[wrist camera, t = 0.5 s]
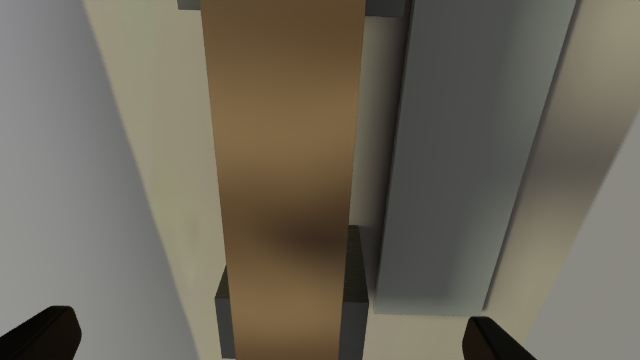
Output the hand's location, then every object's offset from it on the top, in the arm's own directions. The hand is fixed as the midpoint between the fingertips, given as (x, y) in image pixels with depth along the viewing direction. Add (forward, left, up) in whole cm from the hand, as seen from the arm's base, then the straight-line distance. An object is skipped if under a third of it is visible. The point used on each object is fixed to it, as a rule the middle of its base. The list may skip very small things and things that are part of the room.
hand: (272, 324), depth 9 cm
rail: (0, 0, -8) cm, 8 cm away
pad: (-3, -8, -13) cm, 15 cm away
